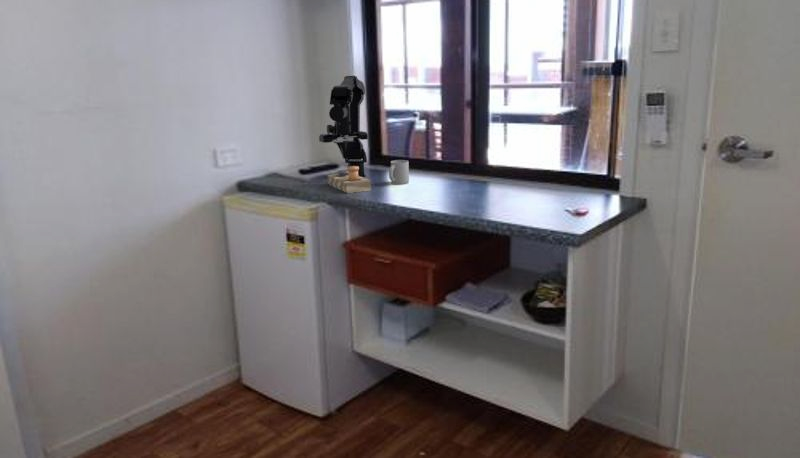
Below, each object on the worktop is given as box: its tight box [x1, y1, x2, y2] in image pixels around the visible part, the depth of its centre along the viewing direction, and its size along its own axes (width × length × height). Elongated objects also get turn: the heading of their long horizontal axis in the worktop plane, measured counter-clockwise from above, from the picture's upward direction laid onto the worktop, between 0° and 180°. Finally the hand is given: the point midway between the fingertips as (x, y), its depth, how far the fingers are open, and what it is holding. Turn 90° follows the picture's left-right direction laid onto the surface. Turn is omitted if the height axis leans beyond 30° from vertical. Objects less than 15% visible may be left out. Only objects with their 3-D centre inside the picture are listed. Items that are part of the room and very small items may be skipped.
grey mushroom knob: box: [337, 169, 348, 177], centre depth 252 cm, size 5×5×6 cm
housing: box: [327, 173, 372, 194], centre depth 248 cm, size 20×10×4 cm, turn 27°
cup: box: [388, 159, 410, 186], centre depth 252 cm, size 7×10×9 cm
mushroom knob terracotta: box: [346, 166, 359, 181], centre depth 242 cm, size 5×5×6 cm
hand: (344, 158), depth 247 cm, fingers closed
